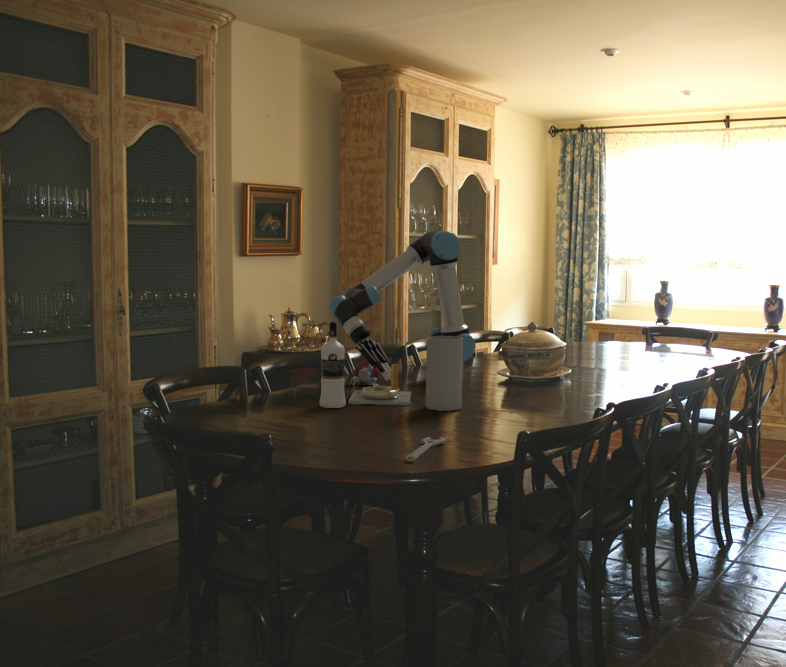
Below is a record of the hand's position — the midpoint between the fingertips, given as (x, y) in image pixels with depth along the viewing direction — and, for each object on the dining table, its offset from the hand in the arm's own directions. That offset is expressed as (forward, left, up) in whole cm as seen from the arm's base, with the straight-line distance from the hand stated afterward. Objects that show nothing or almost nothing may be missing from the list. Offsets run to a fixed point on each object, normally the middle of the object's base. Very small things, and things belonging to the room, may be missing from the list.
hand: (391, 378), depth 276 cm
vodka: (+20, +19, -8) cm, 29 cm away
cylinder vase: (-19, +18, -8) cm, 28 cm away
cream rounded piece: (+4, +3, -6) cm, 8 cm away
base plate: (+4, +3, -7) cm, 9 cm away
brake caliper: (+12, -29, -8) cm, 32 cm away
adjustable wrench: (-12, +77, -8) cm, 79 cm away
